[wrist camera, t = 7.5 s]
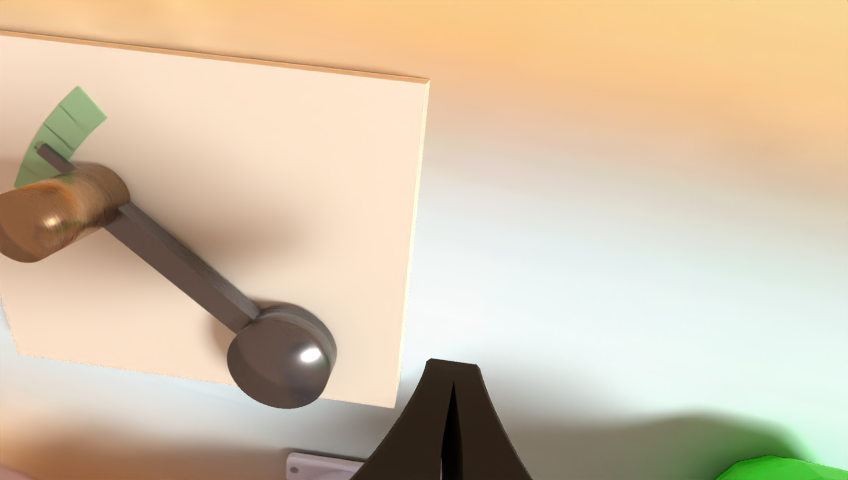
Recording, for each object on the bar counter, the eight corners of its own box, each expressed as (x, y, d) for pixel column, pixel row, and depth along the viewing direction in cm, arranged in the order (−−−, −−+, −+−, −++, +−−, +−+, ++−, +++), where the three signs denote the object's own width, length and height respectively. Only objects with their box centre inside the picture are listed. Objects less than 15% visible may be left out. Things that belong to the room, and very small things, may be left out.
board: (399, 380, 24) (393, 410, 23) (50, 331, 25) (16, 355, 23) (430, 79, 18) (425, 84, 16) (-31, 26, 19) (-87, 25, 17)
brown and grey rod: (356, 351, 21) (333, 417, 17) (296, 400, 23) (262, 470, 19) (71, 107, 18) (-33, 125, 14) (22, 183, 19) (-83, 218, 16)
